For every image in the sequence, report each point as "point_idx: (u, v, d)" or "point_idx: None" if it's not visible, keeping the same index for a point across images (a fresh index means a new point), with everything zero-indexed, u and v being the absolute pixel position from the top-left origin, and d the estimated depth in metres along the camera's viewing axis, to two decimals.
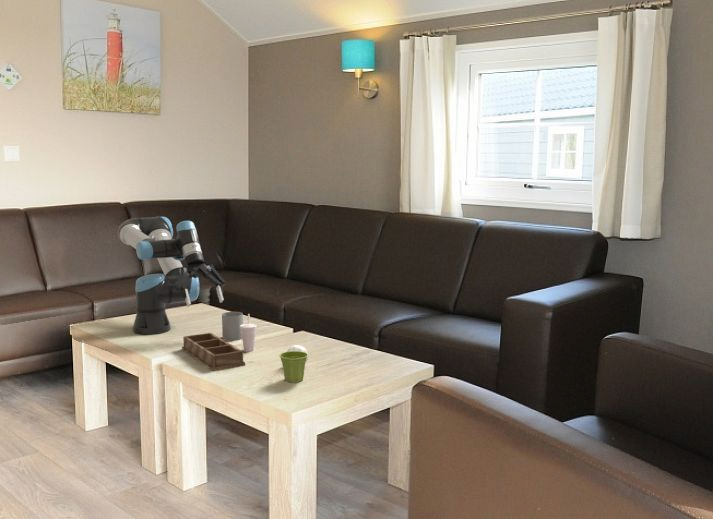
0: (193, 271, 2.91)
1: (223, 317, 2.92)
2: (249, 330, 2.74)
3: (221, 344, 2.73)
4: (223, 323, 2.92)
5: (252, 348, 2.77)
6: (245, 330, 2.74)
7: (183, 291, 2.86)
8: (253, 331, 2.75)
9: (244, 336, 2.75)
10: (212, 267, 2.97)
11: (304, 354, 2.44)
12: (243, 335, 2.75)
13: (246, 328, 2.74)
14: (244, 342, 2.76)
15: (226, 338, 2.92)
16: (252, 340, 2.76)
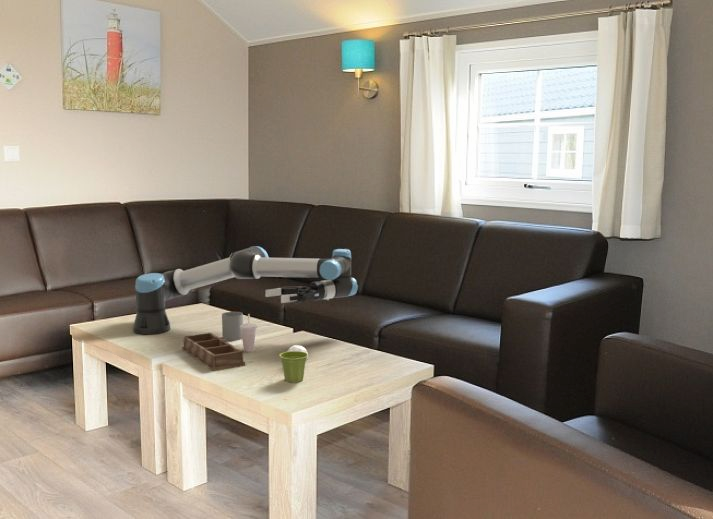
0: None
1: (223, 317, 2.92)
2: (249, 330, 2.74)
3: (221, 344, 2.73)
4: (223, 323, 2.92)
5: (252, 348, 2.77)
6: (245, 330, 2.74)
7: (296, 299, 2.77)
8: (253, 331, 2.75)
9: (244, 336, 2.75)
10: None
11: (304, 354, 2.44)
12: (243, 335, 2.75)
13: (246, 328, 2.74)
14: (244, 342, 2.76)
15: (226, 338, 2.92)
16: (252, 340, 2.76)
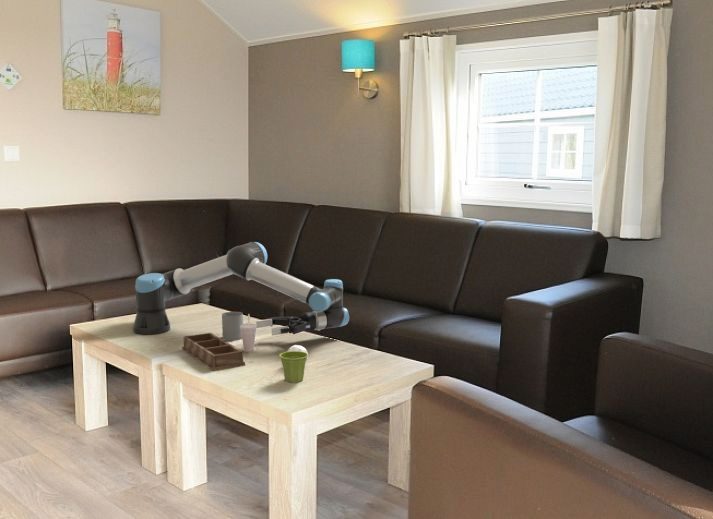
0: None
1: (223, 317, 2.92)
2: (249, 330, 2.74)
3: (221, 344, 2.73)
4: (223, 323, 2.92)
5: (252, 348, 2.77)
6: (245, 330, 2.74)
7: None
8: (253, 331, 2.75)
9: (244, 336, 2.75)
10: None
11: (304, 354, 2.44)
12: (243, 335, 2.75)
13: (246, 328, 2.74)
14: (244, 342, 2.76)
15: (226, 338, 2.92)
16: (252, 340, 2.76)
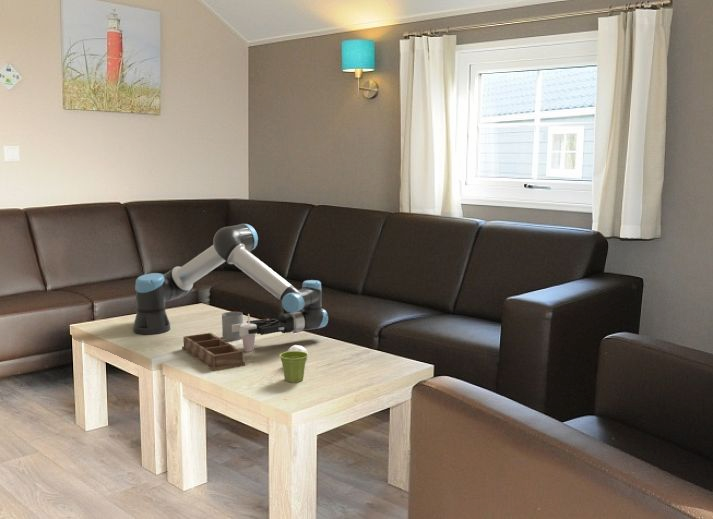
0: None
1: (223, 317, 2.92)
2: None
3: (221, 344, 2.73)
4: (223, 323, 2.92)
5: (252, 348, 2.77)
6: None
7: None
8: None
9: (244, 336, 2.75)
10: None
11: (304, 354, 2.44)
12: None
13: None
14: (244, 342, 2.76)
15: (226, 338, 2.92)
16: (252, 340, 2.76)
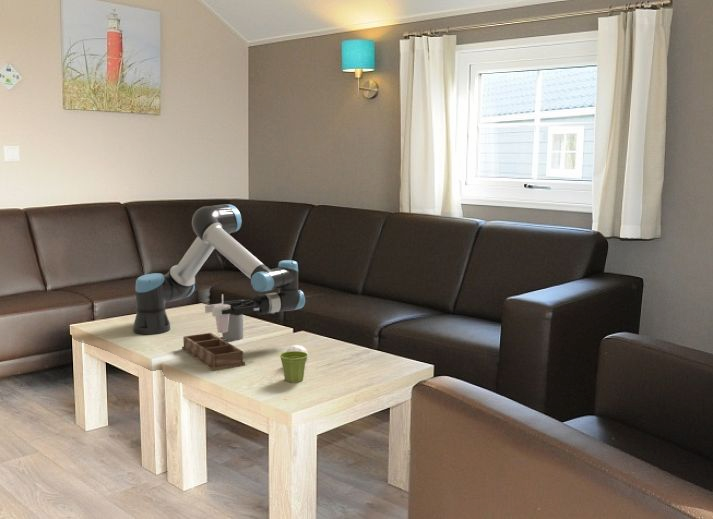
0: None
1: None
2: None
3: (221, 344, 2.73)
4: None
5: (226, 329, 2.69)
6: None
7: None
8: None
9: (218, 317, 2.67)
10: None
11: (304, 354, 2.44)
12: (217, 316, 2.67)
13: None
14: (218, 323, 2.68)
15: (226, 338, 2.92)
16: (226, 321, 2.68)
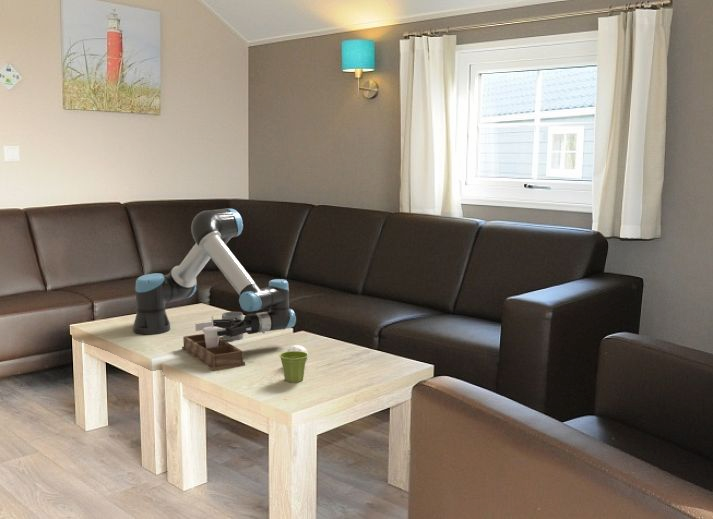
0: None
1: (223, 317, 2.92)
2: None
3: (221, 344, 2.73)
4: None
5: None
6: None
7: None
8: None
9: (207, 339, 2.66)
10: None
11: (304, 354, 2.44)
12: (206, 338, 2.66)
13: None
14: (207, 345, 2.67)
15: (226, 338, 2.92)
16: (216, 344, 2.67)
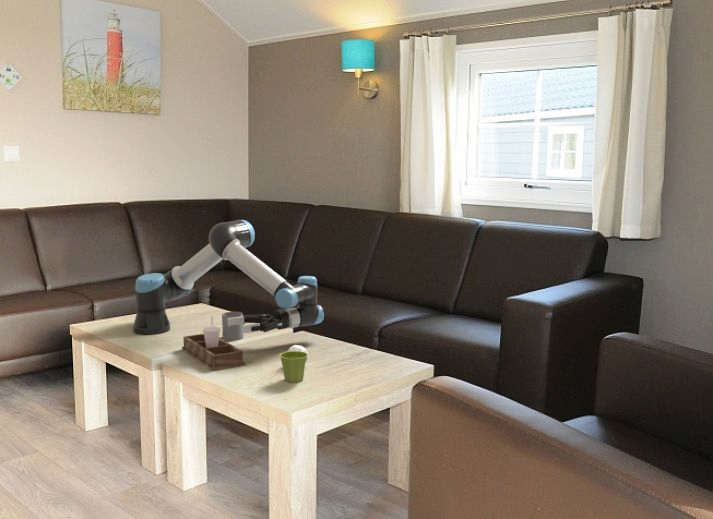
0: None
1: (223, 317, 2.92)
2: (212, 333, 2.65)
3: (221, 344, 2.73)
4: (223, 323, 2.92)
5: None
6: (208, 333, 2.65)
7: None
8: (216, 334, 2.67)
9: (207, 339, 2.66)
10: None
11: (304, 354, 2.44)
12: (206, 338, 2.66)
13: (209, 331, 2.65)
14: (207, 346, 2.67)
15: (226, 338, 2.92)
16: (216, 344, 2.67)
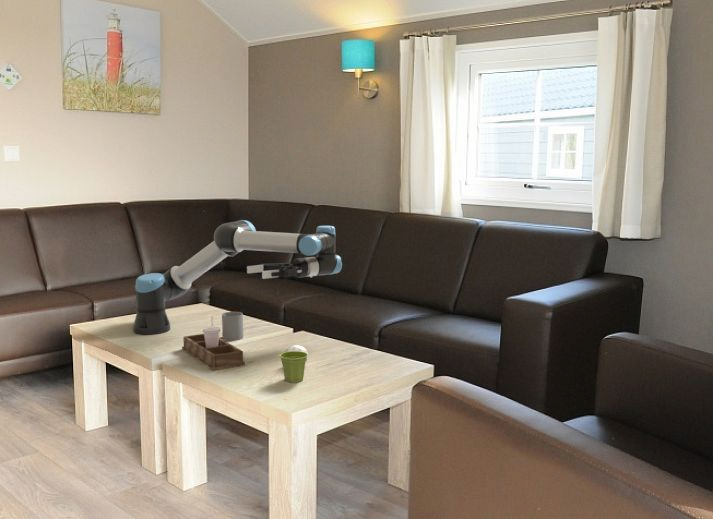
0: None
1: (223, 317, 2.92)
2: (212, 333, 2.65)
3: (221, 344, 2.73)
4: (223, 323, 2.92)
5: None
6: (208, 333, 2.65)
7: (278, 275, 2.71)
8: (216, 334, 2.67)
9: (207, 340, 2.66)
10: None
11: (304, 354, 2.44)
12: (206, 338, 2.66)
13: (209, 331, 2.65)
14: (207, 346, 2.67)
15: (226, 338, 2.92)
16: (216, 344, 2.67)
